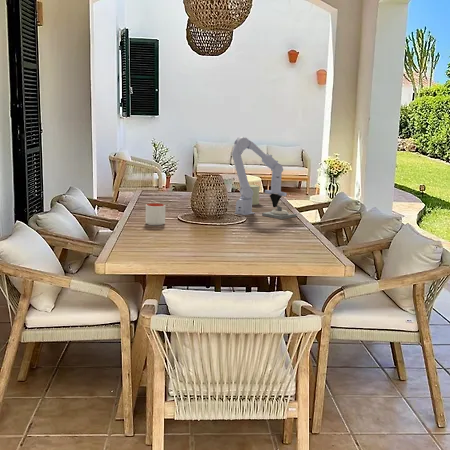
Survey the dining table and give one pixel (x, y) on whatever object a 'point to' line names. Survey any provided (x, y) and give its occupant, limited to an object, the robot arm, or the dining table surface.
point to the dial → (279, 211)
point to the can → (255, 194)
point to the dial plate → (288, 215)
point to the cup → (155, 214)
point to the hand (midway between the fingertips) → (274, 207)
